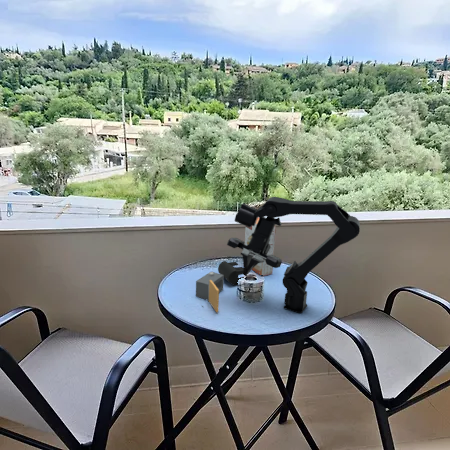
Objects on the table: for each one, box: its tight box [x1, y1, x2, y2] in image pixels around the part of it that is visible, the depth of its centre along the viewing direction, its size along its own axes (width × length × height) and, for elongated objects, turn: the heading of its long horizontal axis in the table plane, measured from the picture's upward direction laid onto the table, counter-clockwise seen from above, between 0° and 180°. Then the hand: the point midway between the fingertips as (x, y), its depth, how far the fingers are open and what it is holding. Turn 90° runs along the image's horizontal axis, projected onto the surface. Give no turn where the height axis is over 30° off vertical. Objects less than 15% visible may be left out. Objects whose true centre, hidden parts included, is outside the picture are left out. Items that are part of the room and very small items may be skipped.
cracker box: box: [244, 217, 277, 277], centre depth 174 cm, size 14×6×21 cm, turn 28°
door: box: [207, 280, 220, 313], centre depth 144 cm, size 9×1×8 cm, turn 20°
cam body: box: [195, 271, 225, 301], centre depth 154 cm, size 6×10×7 cm, turn 150°
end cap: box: [217, 260, 245, 287], centre depth 165 cm, size 10×7×7 cm
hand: (244, 275), depth 145 cm, fingers closed
